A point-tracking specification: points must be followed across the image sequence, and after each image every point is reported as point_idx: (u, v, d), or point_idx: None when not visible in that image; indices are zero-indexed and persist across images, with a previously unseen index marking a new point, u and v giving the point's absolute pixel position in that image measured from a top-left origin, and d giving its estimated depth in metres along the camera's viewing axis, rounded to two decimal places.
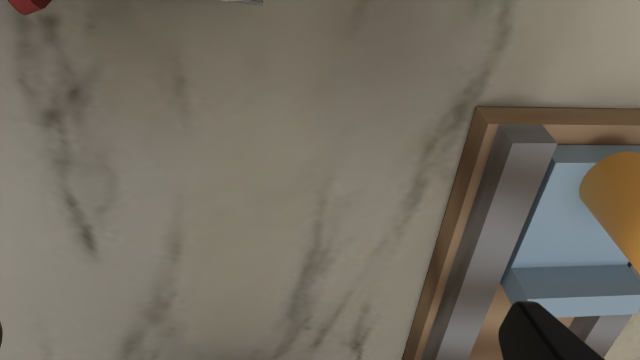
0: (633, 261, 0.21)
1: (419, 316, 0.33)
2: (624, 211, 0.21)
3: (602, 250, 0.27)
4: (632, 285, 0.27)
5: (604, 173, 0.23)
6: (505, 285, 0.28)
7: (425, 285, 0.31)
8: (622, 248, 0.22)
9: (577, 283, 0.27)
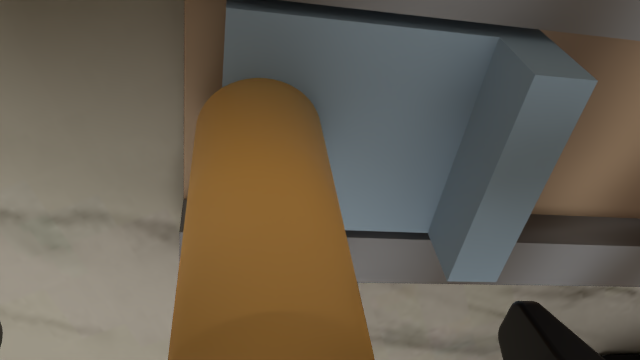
0: None
1: None
2: None
3: (435, 101, 0.14)
4: (514, 85, 0.12)
5: None
6: None
7: None
8: None
9: (470, 178, 0.14)
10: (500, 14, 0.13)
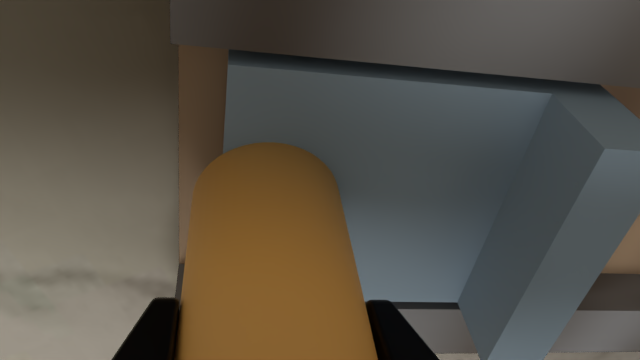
0: None
1: None
2: None
3: (473, 164, 0.12)
4: (574, 155, 0.10)
5: None
6: None
7: None
8: None
9: (514, 253, 0.12)
10: (555, 68, 0.11)
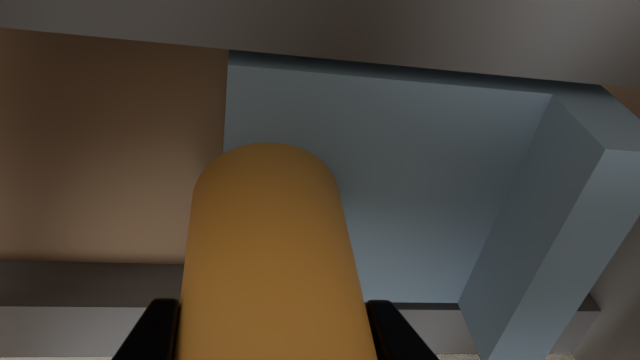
0: None
1: None
2: None
3: (473, 165, 0.12)
4: (575, 156, 0.10)
5: None
6: None
7: None
8: None
9: (514, 254, 0.12)
10: (253, 38, 0.09)
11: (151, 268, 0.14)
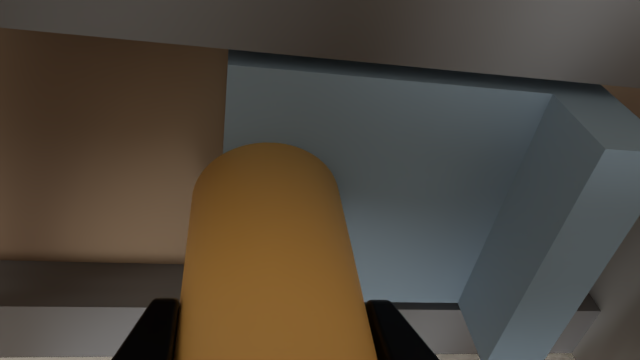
0: None
1: None
2: None
3: (473, 164, 0.12)
4: (575, 156, 0.10)
5: None
6: None
7: None
8: None
9: (514, 254, 0.12)
10: (251, 38, 0.09)
11: (150, 268, 0.14)
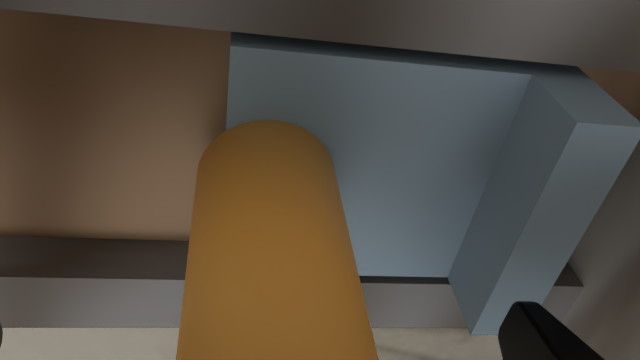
0: None
1: None
2: None
3: (459, 142, 0.13)
4: (551, 130, 0.11)
5: None
6: None
7: None
8: None
9: (498, 226, 0.13)
10: (252, 21, 0.10)
11: (156, 244, 0.15)
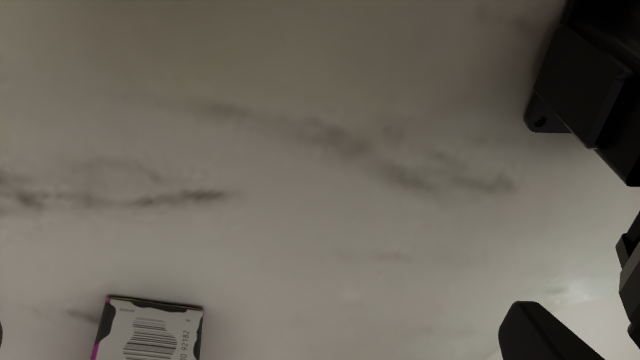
0: None
1: None
2: None
3: None
4: None
5: None
6: None
7: None
8: None
9: None
10: None
11: None
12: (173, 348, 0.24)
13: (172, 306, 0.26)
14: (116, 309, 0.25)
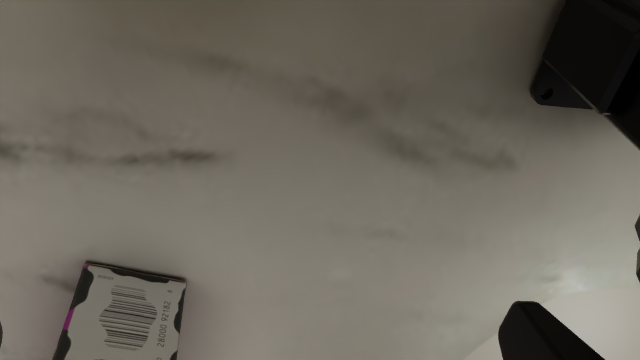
0: None
1: None
2: None
3: None
4: None
5: None
6: None
7: None
8: None
9: None
10: None
11: None
12: (153, 318, 0.23)
13: (153, 276, 0.25)
14: (94, 275, 0.24)
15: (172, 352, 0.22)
